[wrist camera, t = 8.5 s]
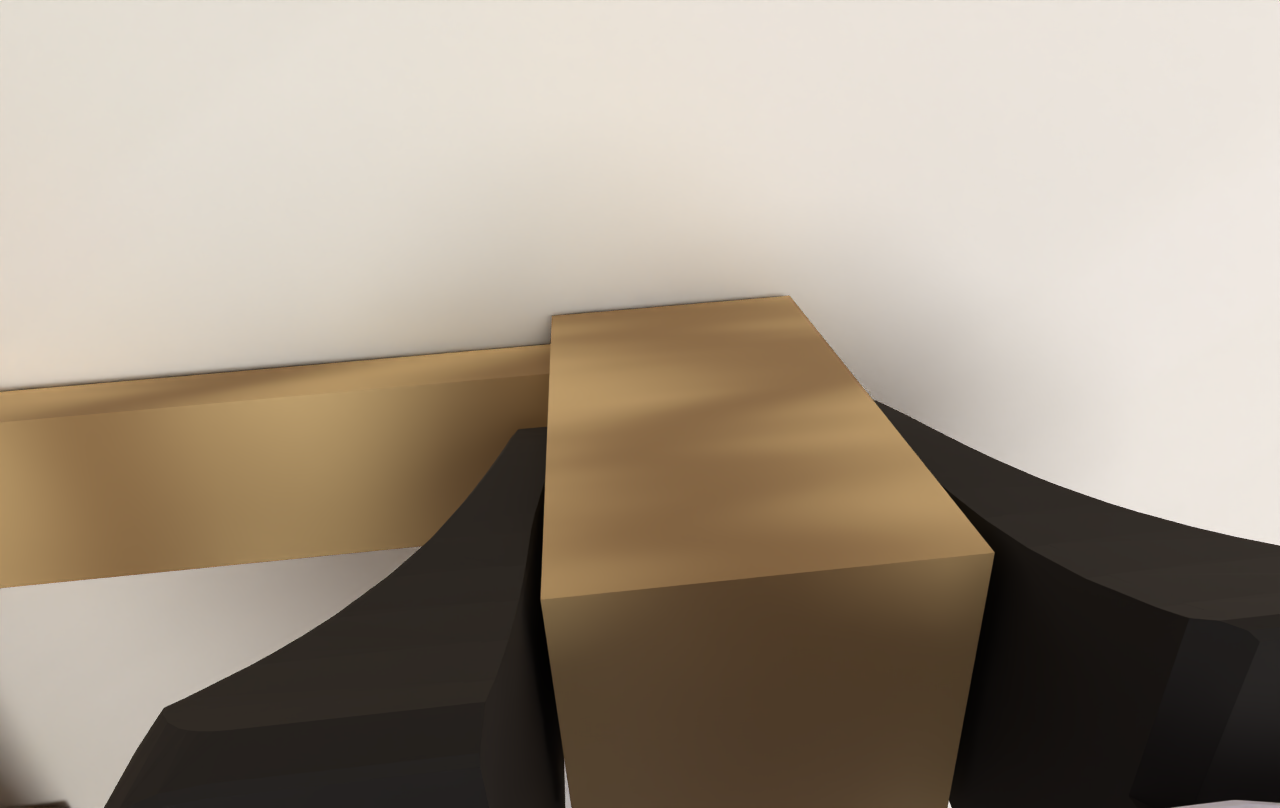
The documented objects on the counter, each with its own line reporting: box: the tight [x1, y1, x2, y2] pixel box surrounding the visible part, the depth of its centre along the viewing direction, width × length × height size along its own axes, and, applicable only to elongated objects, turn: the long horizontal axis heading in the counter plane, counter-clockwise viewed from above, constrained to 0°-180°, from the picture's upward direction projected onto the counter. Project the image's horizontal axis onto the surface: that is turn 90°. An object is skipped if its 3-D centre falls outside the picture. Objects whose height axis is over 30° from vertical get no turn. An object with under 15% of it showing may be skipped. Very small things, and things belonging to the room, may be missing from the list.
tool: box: [0, 296, 995, 808], centre depth 10 cm, size 17×4×7 cm, turn 93°
